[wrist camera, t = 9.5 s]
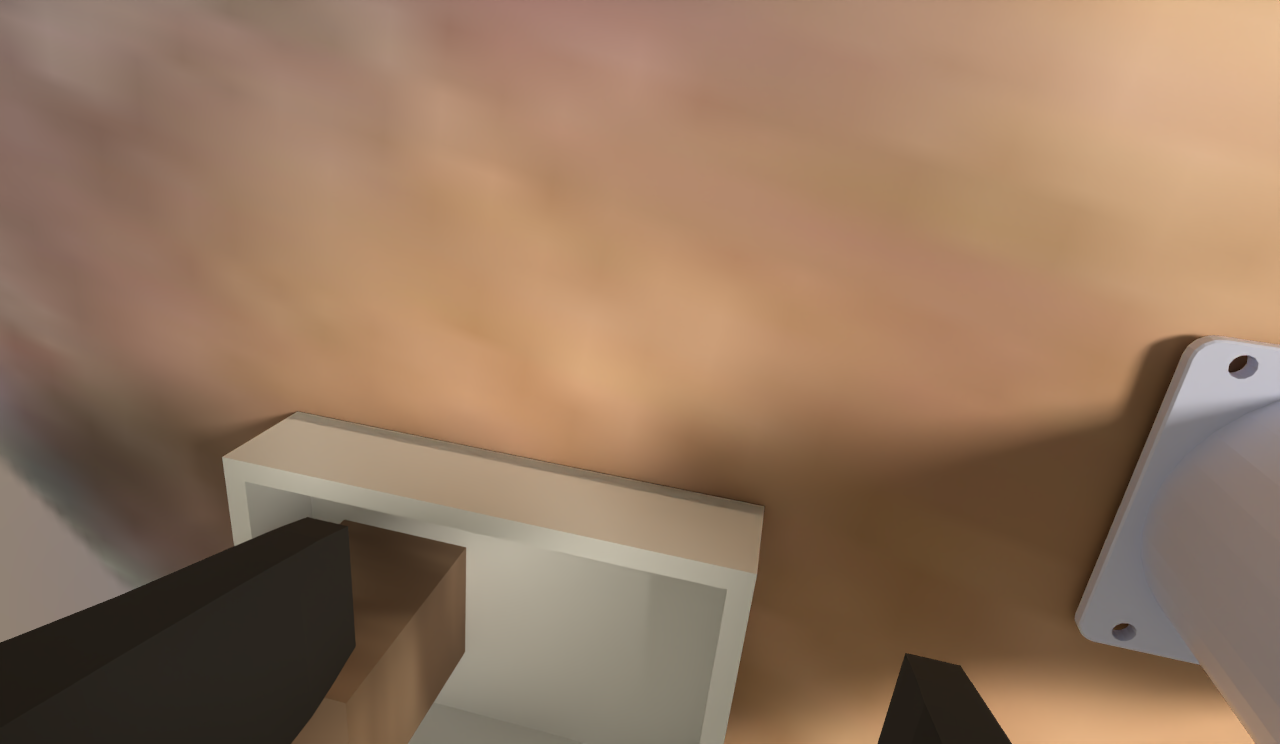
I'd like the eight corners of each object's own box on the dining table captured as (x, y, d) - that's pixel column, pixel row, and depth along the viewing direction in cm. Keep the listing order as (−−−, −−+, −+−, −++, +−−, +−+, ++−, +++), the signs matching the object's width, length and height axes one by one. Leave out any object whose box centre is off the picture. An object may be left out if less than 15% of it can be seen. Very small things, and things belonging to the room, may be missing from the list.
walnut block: (466, 547, 21) (346, 703, 16) (465, 651, 23) (355, 828, 17) (344, 519, 22) (187, 659, 16) (351, 623, 23) (210, 783, 18)
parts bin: (764, 506, 19) (757, 574, 16) (712, 777, 23) (698, 869, 20) (297, 411, 21) (221, 457, 19) (320, 671, 25) (261, 741, 22)
